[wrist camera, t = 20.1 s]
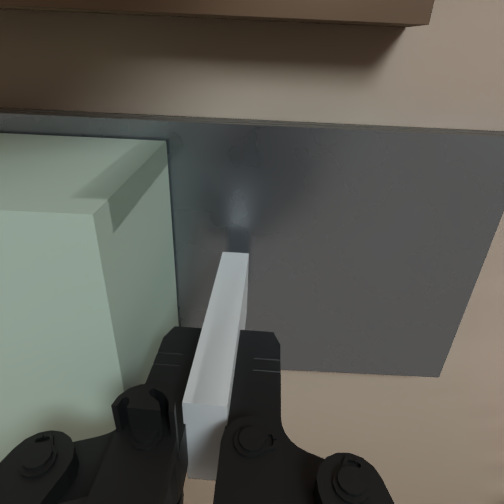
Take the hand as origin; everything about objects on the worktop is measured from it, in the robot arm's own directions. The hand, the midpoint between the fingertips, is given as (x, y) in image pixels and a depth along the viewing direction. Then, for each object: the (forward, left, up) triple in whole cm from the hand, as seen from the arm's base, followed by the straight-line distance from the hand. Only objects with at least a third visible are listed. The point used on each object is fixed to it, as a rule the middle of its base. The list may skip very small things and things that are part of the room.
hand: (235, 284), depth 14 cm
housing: (0, -6, -1) cm, 6 cm away
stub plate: (0, 0, -2) cm, 2 cm away
